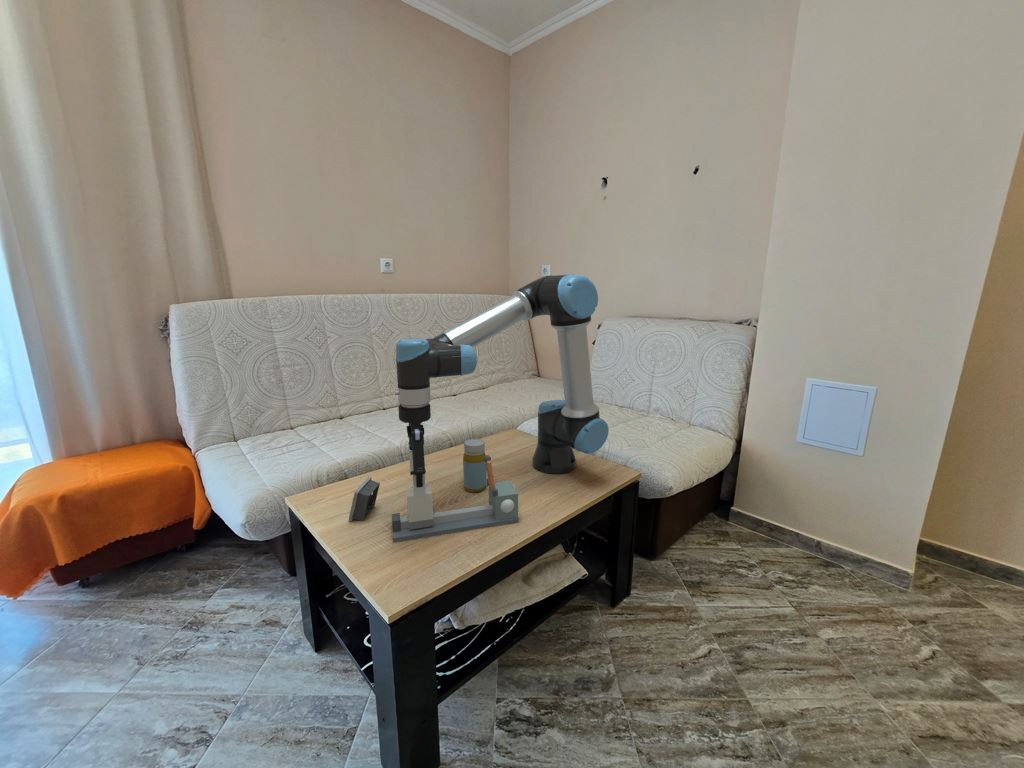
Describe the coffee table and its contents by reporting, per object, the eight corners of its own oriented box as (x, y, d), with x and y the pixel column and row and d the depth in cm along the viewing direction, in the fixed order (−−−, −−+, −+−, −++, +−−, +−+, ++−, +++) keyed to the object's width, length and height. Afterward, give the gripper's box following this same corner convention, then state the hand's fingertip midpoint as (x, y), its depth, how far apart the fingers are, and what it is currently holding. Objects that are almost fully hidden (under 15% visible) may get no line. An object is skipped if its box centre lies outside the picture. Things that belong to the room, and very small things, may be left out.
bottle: (483, 494, 125) (482, 447, 122) (460, 492, 127) (459, 445, 123) (488, 483, 132) (488, 439, 129) (467, 481, 133) (466, 437, 130)
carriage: (431, 515, 110) (430, 484, 108) (433, 525, 106) (432, 493, 104) (408, 519, 109) (406, 487, 107) (409, 529, 104) (407, 496, 102)
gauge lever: (493, 482, 113) (488, 451, 111) (497, 489, 109) (492, 457, 107) (486, 484, 113) (481, 453, 110) (490, 491, 109) (485, 459, 106)
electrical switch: (362, 504, 119) (363, 474, 117) (380, 506, 119) (381, 477, 117) (347, 522, 110) (348, 490, 108) (367, 525, 110) (367, 493, 108)
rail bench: (509, 505, 119) (509, 474, 117) (518, 522, 110) (518, 488, 108) (392, 523, 110) (390, 489, 108) (393, 542, 101) (390, 506, 99)
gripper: (396, 392, 111) (400, 467, 115) (400, 419, 87) (404, 512, 92) (425, 391, 113) (427, 464, 117) (436, 417, 89) (438, 507, 94)
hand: (417, 485), depth 105 cm, fingers open, 13 cm apart
